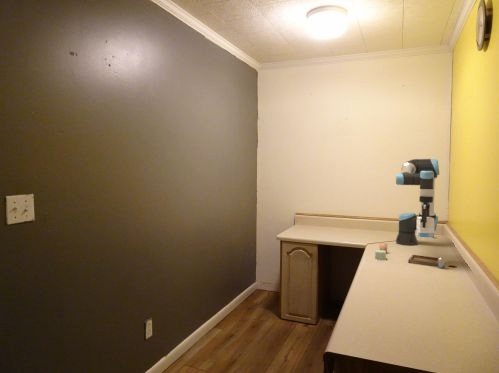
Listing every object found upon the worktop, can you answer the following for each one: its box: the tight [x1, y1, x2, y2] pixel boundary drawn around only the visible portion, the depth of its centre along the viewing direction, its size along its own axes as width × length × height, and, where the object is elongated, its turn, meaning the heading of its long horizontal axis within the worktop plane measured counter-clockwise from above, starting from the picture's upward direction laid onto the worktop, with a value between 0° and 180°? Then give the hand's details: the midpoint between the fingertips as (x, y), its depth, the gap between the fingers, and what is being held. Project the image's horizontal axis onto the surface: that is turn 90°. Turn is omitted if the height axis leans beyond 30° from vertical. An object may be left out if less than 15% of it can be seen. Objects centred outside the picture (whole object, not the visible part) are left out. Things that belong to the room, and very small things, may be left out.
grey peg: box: [437, 256, 446, 270], centre depth 210 cm, size 4×4×6 cm
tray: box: [407, 254, 438, 268], centre depth 223 cm, size 15×16×2 cm
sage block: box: [374, 249, 387, 261], centre depth 231 cm, size 6×6×5 cm
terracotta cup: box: [379, 242, 388, 255], centre depth 246 cm, size 5×5×6 cm
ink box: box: [415, 214, 435, 238], centre depth 221 cm, size 9×8×13 cm
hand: (425, 231), depth 221 cm, fingers closed on ink box, 10 cm apart
